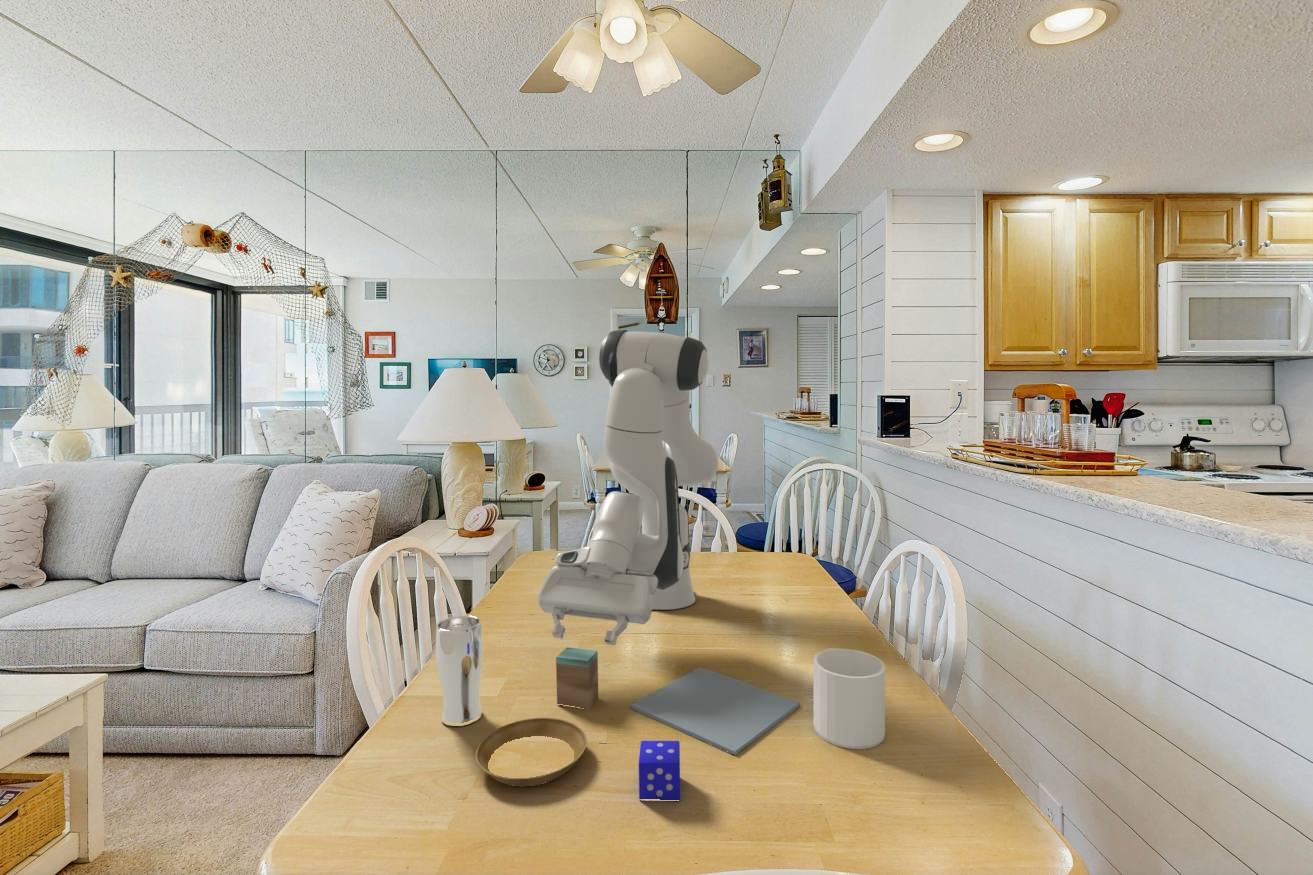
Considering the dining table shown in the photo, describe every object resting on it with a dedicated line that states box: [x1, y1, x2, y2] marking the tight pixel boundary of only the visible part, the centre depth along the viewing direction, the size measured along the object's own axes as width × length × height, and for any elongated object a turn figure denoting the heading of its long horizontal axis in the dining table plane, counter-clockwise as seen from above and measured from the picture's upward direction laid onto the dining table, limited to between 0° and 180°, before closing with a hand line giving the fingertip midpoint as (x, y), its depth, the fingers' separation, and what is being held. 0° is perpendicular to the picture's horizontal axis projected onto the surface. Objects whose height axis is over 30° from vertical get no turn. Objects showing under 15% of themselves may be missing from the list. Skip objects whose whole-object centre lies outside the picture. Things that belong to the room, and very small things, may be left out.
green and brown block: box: [555, 646, 599, 710], centre depth 100 cm, size 4×6×8 cm
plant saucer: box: [475, 717, 588, 787], centre depth 83 cm, size 15×15×3 cm
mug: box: [813, 647, 886, 750], centre depth 91 cm, size 13×10×10 cm
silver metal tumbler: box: [435, 615, 484, 723], centre depth 95 cm, size 7×7×15 cm
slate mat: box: [629, 666, 801, 756], centre depth 98 cm, size 20×18×1 cm
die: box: [638, 740, 681, 801], centre depth 77 cm, size 5×5×5 cm
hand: (583, 640), depth 102 cm, fingers open, 8 cm apart
